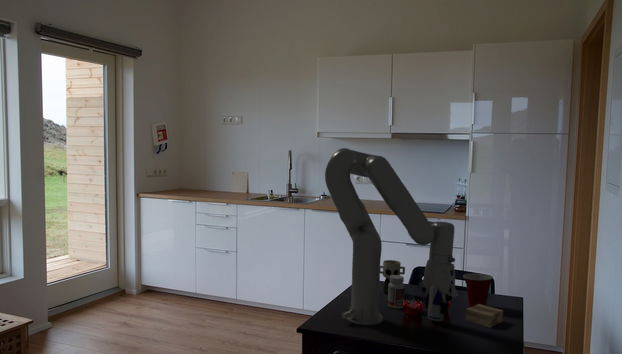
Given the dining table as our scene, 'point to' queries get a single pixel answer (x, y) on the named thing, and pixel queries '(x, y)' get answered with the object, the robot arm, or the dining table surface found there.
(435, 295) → the energy drink
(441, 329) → the dining table surface
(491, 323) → the oak block
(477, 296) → the plastic cup
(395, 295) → the pill bottle
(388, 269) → the character mug
